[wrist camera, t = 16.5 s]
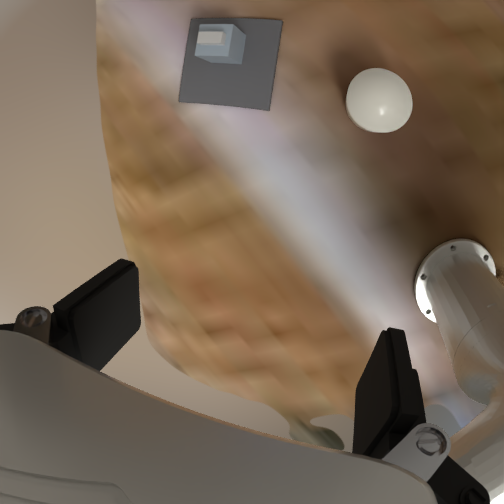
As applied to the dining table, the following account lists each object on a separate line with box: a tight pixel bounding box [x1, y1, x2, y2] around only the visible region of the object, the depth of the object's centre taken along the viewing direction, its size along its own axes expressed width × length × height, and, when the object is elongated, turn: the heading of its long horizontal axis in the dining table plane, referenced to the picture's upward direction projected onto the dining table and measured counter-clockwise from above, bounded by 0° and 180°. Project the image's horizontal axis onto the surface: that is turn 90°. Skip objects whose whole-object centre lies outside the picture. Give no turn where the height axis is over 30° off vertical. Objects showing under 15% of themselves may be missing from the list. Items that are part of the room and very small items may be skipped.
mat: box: [179, 18, 283, 111], centre depth 35 cm, size 12×12×1 cm
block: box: [195, 24, 246, 64], centre depth 31 cm, size 4×4×6 cm
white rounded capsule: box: [345, 68, 413, 133], centre depth 30 cm, size 6×6×8 cm
